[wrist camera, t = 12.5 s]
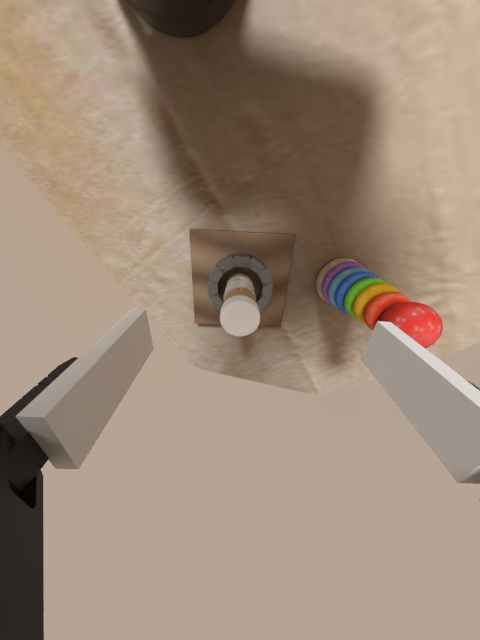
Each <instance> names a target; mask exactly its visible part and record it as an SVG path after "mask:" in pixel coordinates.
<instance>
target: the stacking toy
mask: <svg viewBox="0 0 480 640" xmlns="http://www.w3.org/2000/svg"><path fill="white" fill-rule="evenodd" d="M316 289H317V293H318V295H319V296H320V297H321V298H322V299H323V300H324V301H326V302H328V303H330V304H331V305H333V306H334V307H335V308H337V309H339V310H340V311H342V312H343V313H345V314H348V315H350V316H351V317H353V318H355V319H358V320H359V321H360V322H362V323H365V324H366V325H367V326H368V327H369V328H371V329H372V330H374V328H375V325H376V323H377V321H383V322H391V323H393V324H394V325H395V326H396V327H398V328H399V329H400V330H402V331H403V332H404V333H406V334H407V335H408V336H409V337H411V338H412V339H413V340H415V341H416V342H417V343H419V344H420V345H421V346H422V347H424V348H427V347H429V346H431V345H433V344H434V343H435V342H436V341H437V340H438V339H439V337H440V335H441V333H442V329H443V324H442V320H441V318H440V316H439V315H438V314H437V312H436V311H435V310H433V309H432V308H430V307H429V306H427V305H424V304H421V303H417V302H410V301H409V299H408V298H407V297H406V296H405V295H403V294H401V293H399V292H398V290H397V289H396V288H395V287H394V286H392V285H390V284H388V283H387V282H386V281H384V280H382V279H380V278H379V277H378V276H376V275H375V274H373V273H372V272H370V271H369V270H367V268H366V267H365V266H364V265H362V264H360V263H358V262H357V261H356V260H353V259H350V258H340V259H336V260H333V261H331V262H330V263H328V264H327V265H326V266H325V267H324V268H323V269H322V270H321V271H320V273H319V275H318V277H317V281H316Z"/></svg>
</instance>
